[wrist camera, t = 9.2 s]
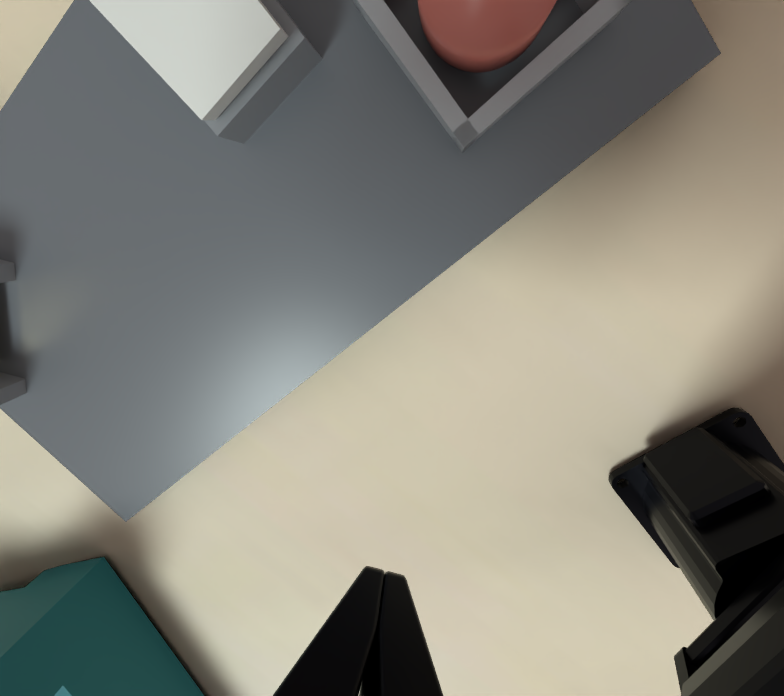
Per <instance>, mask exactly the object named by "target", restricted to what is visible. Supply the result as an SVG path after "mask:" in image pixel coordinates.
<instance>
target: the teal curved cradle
mask: <svg viewBox="0 0 784 696" xmlns="http://www.w3.org/2000/svg"><path fill="white" fill-rule="evenodd" d="M0 696H204V695H203V693H202V692H201V691H200V689H199V688H198V686H197V685H196V684H195V682H194V681H193V679H192V678H191V677H190V675H189V674H188V673H187V671H186V670H185V668H184V667H183V666H182V664H181V663H180V662H179V660H178V659H177V657H176V656H175V655H174V653H173V652H172V650H171V649H170V648H169V646H168V645H167V644H166V642H165V641H164V639H163V638H162V637H161V635H160V634H159V633H158V631H157V630H156V628H155V627H154V626H153V624H152V623H151V621H150V620H149V619H148V617H147V616H146V615H145V613H144V612H143V610H142V609H141V608H140V606H139V605H138V603H137V602H136V601H135V599H134V598H133V597H132V595H131V594H130V592H129V591H128V590H127V588H126V587H125V586H124V584H123V583H122V581H121V580H120V579H119V577H118V576H117V574H116V573H115V572H114V570H113V569H112V568H111V566H110V565H109V563H108V562H107V561H106V559H105V558H104V557H101V558H96V559H91V560H86V561H81V562H76V563H71V564H66V565H62V566H58V567H54V568H51V569H47V570H44V571H43V572H42V573H41V574H39V575H38V576H37V577H36V578H35V579H34V580H33V581H31V582H30V583H29V584H28V585H27V586H26V587H24V588H19V589H13V590H8V591H2V592H0Z"/></svg>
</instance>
